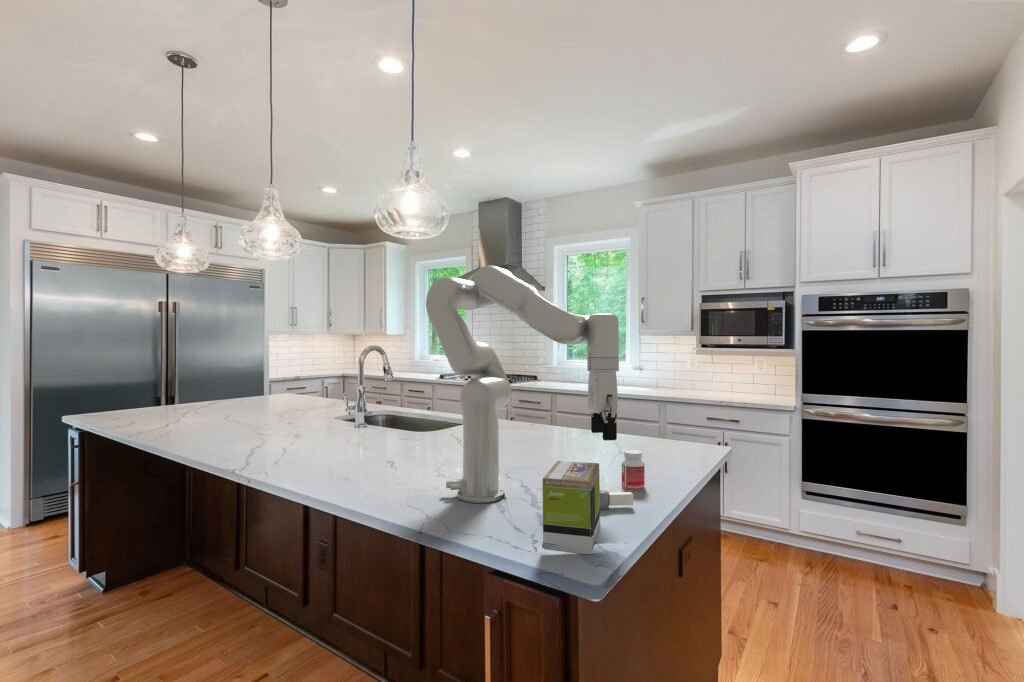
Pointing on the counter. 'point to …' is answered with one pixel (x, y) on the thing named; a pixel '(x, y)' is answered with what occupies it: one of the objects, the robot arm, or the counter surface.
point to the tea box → (571, 507)
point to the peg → (615, 499)
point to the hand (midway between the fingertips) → (603, 436)
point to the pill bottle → (633, 470)
